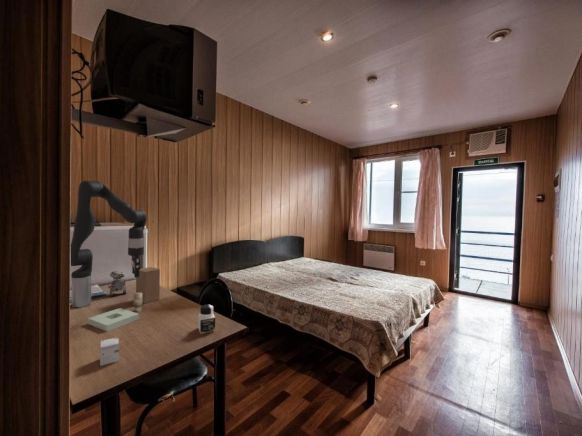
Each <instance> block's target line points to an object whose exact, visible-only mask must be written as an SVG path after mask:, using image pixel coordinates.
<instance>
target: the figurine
mask: <svg viewBox="0 0 582 436" xmlns="http://www.w3.org/2000/svg"><path fill="white" fill-rule="evenodd" d="M109 277H111V278H112V279H113V280H112V281H111V284H110V285H109V284H107V286H108V289H109V296H110V297H113V296H114V294H113V293H114V292H120V291H121V292H122V293H123V295H127V287H126V285H127V284H126V279H122V278H124V277H125V275H124V274H123V271H121V272H120V271H117V270H114V271H112V272H110V273H109Z"/></svg>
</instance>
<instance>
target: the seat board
mask: <svg viewBox="0 0 582 436" xmlns="http://www.w3.org/2000/svg"><path fill="white" fill-rule="evenodd" d="M139 317H140V314H139V313H138V312H135V311H131V310H128V309H126V308H125V309H124V308H121V307H120V308H116V309H113V310H112V309H111V310H110V311H107V312H106V311H105V312H104V313H100V314H97V315H94V316H91V317H88V318H87V325H90V326H91V325H92V327H95V328H96V329H99V330H101V331H105V332H110V331H113V330H115V329H117V328H119V327H120V328H121V327H122V326H126V325H127V324H131V323H134V322H136V321H138V320H140V318H139Z"/></svg>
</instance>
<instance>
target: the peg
mask: <svg viewBox="0 0 582 436" xmlns="http://www.w3.org/2000/svg"><path fill="white" fill-rule="evenodd" d="M142 306H143V303H142V293H141V292H139V293H136V292H135V293H134V294H133V308H134V312H135V313H138V312H139V313H140V312H141V311H142Z"/></svg>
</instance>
